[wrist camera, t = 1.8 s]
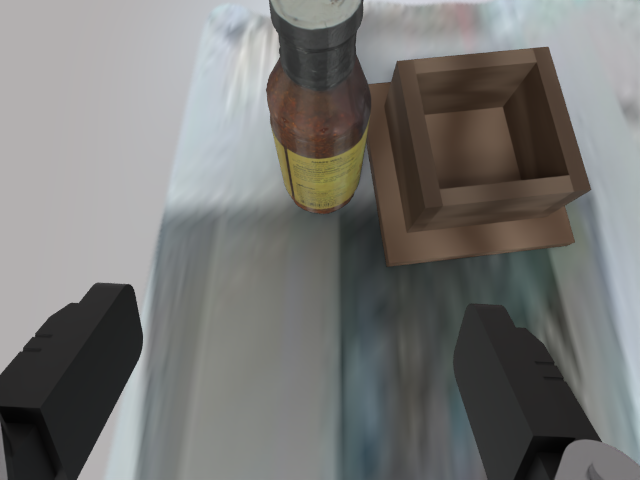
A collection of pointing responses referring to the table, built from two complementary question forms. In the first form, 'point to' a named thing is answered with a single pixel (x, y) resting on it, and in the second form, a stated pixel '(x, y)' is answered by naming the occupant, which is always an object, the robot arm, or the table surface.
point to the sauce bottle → (319, 101)
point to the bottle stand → (473, 157)
